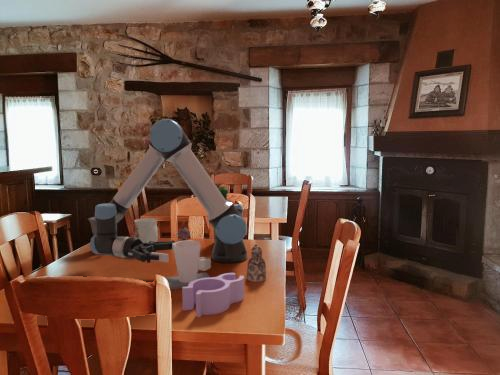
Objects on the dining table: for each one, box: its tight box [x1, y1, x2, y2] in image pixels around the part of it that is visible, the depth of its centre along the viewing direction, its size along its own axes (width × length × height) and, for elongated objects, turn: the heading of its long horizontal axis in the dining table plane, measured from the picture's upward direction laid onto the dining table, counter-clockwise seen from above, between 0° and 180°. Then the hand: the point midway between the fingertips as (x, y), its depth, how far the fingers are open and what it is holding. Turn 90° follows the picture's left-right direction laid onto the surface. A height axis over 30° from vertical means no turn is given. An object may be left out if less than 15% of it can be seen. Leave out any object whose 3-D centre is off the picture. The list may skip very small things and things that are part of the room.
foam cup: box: [172, 239, 202, 283], centre depth 142 cm, size 10×9×13 cm
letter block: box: [198, 256, 212, 272], centre depth 158 cm, size 4×4×4 cm
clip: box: [181, 272, 245, 318], centre depth 124 cm, size 20×12×7 cm, turn 136°
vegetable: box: [177, 221, 191, 241], centre depth 201 cm, size 6×6×10 cm
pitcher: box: [133, 217, 159, 243], centre depth 189 cm, size 11×18×14 cm, turn 33°
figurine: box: [246, 244, 267, 283], centre depth 146 cm, size 7×7×12 cm
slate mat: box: [165, 272, 211, 291], centre depth 143 cm, size 16×10×1 cm, turn 111°
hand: (178, 252), depth 142 cm, fingers open, 13 cm apart
